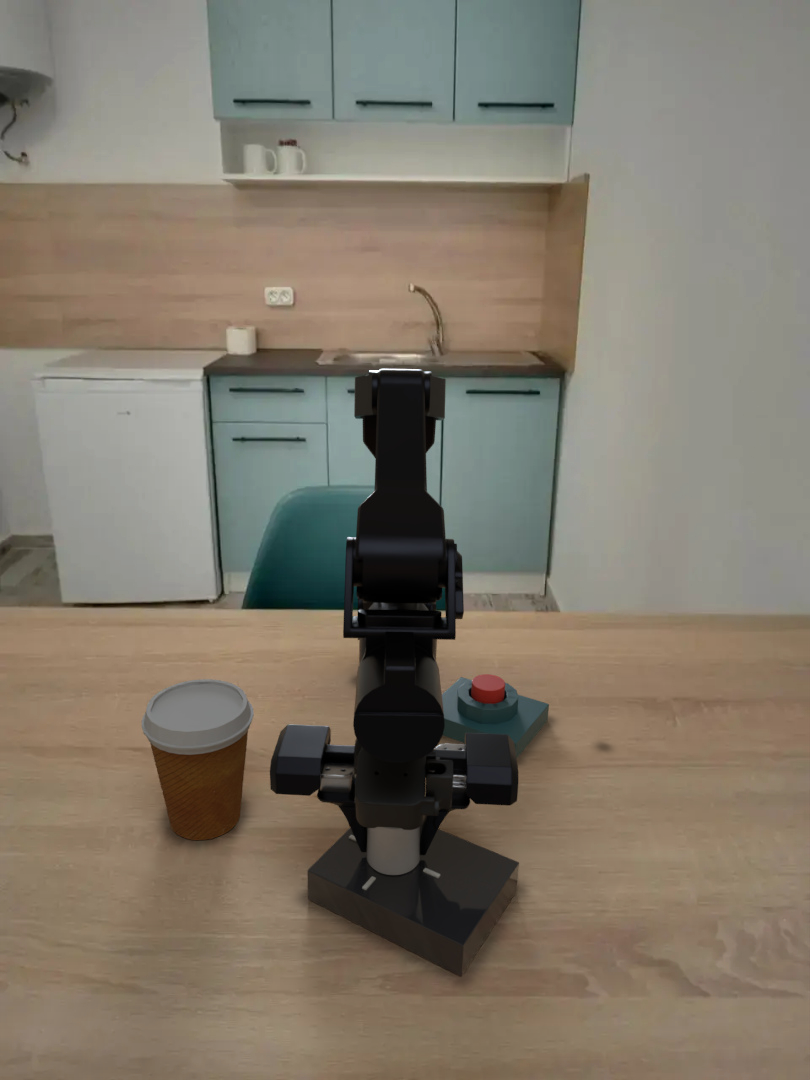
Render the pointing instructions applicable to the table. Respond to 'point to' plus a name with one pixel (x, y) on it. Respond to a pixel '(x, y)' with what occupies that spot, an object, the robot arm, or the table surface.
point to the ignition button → (488, 689)
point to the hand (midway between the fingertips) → (393, 850)
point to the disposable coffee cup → (200, 753)
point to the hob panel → (420, 896)
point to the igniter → (492, 715)
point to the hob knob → (393, 849)
